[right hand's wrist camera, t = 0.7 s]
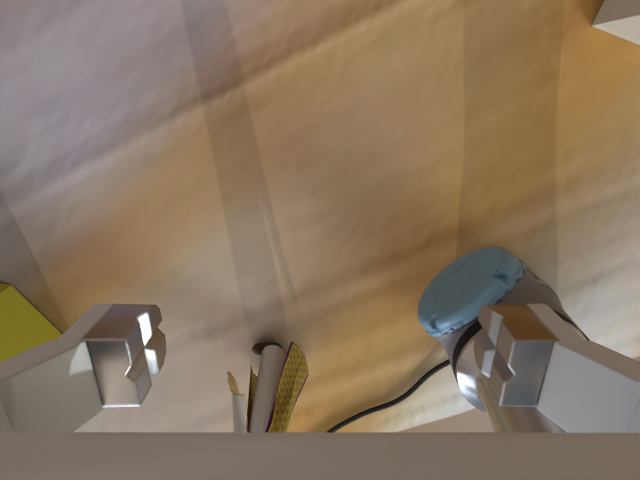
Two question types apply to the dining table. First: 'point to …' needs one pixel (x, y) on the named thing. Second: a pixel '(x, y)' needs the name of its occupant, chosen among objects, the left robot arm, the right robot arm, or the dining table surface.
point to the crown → (21, 324)
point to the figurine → (270, 390)
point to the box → (620, 19)
